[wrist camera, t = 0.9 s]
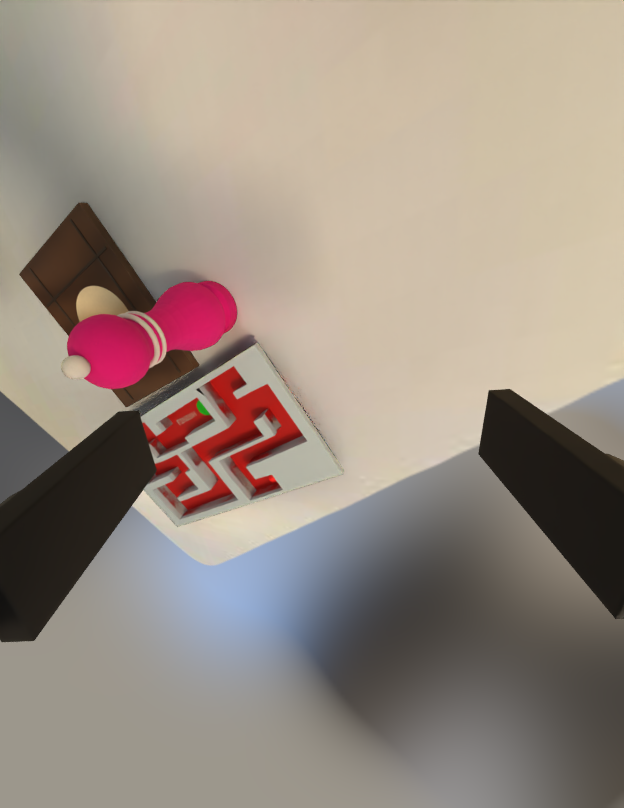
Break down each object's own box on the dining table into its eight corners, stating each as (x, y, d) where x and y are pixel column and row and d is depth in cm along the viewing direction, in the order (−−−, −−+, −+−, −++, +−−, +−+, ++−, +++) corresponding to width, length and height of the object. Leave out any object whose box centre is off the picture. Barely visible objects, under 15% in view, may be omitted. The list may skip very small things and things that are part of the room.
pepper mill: (221, 265, 37) (59, 304, 21) (251, 325, 40) (127, 403, 23) (177, 290, 41) (4, 342, 24) (207, 344, 43) (70, 425, 26)
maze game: (187, 513, 62) (177, 527, 59) (114, 431, 57) (99, 442, 54) (347, 459, 46) (342, 474, 43) (265, 336, 40) (254, 344, 37)
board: (27, 273, 46) (17, 274, 45) (87, 202, 38) (77, 202, 37) (131, 404, 52) (125, 407, 51) (199, 365, 45) (194, 368, 44)
